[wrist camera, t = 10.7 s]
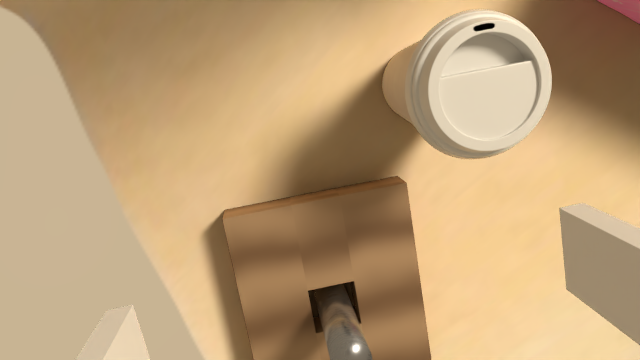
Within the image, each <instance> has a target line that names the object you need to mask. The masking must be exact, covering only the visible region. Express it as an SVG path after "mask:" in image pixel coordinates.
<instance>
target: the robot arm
mask: <svg viewBox="0 0 640 360" xmlns="http://www.w3.org/2000/svg"><path fill="white" fill-rule="evenodd" d="M559 210H560V221H561V233H562V244H563V256H564V267H565V279H566V289H567V290H568V291H570V292H571V293H572V294H573V295H575V296H576V297H577V298H579V299H580V300H581V301H583V302H584V303H585V304H587V305H588V306H589V307H590V308H592V309H593V310H594V311H596V312H597V313H598V314H600V315H601V316H602V317H604V318H605V319H606V320H607V321H609V322H610V323H611V324H613V325H614V326H615V327H617V328H618V329H619V330H621V331H622V332H623V333H624V334H626V335H627V336H628V337H630V338H631V339H632V340H634V341H635V342H636V343H638V344H639V345H640V228H638V227H636V226H633V225H631V224H629V223H627V222H625V221H622V220H620V219H618V218H616V217H614V216H611V215H609V214H607V213H605V212H602V211H600V210H598V209H596V208H594V207H591V206H589V205H587V204H585V203H580V204H575V205H571V206H566V207H562V208H559ZM76 360H150V357H149V354H148V351H147V348H146V345H145V342H144V338H143V335H142V332H141V329H140V326H139V322H138V319H137V316H136V313H135V310H134V306H133V304H132V305H128V306H123V307H119V308H115V309H110V310H107V311H106V312H105V314H104V316H103V317H102V319H101V320H100V322H99V323H98V325H97V326H96V328H95V330H94V331H93V333H92V334H91V336H90V337H89V339H88V341H87V342H86V344H85V345H84V347H83V349H82V350H81V352H80V353H79V355H78V356H77V358H76Z"/></svg>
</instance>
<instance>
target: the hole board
mask: <svg viewBox="0 0 640 360" xmlns="http://www.w3.org/2000/svg"><path fill="white" fill-rule="evenodd" d="M222 220H223V224H224V229H225V233H226V238H227V242H228V247H229V251H230V256H231V260H232V265H233V269H234V274H235V278H236V282H237V287H238V291H239V296H240V300H241V305H242V309H243V314H244V318H245V323H246V327H247V332H248V336H249V341H250V345H251V350H252V354H253V359H254V360H330V357H329V353H328V349H327V345H326V340H325V336H324V332H323V328H322V324H321V320H320V317H316V318H313V315H312V310H311V305H310V300H309V294H308V291H309V290H314V289H318V288H323V287H328V286H333V285H337V284H342V283H347V282H351V286H352V292H353V298H354V303H355V309H354V312H355V314H356V317H357V319H358V322H359V324H360V327H361V329H362V332H363V334H364V337H365V339H366V342H367V344H368V347H369V349H370V352H371V354H372V360H431V354H430V347H429V340H428V333H427V326H426V319H425V311H424V304H423V297H422V290H421V283H420V276H419V269H418V261H417V254H416V247H415V240H414V233H413V226H412V219H411V211H410V204H409V197H408V190H407V183H406V182H405V181H403V180H402V179H401V178H399V177H398V176H395V177H390V178H385V179H380V180H375V181H370V182H365V183H360V184H355V185H349V186H344V187H339V188H334V189H329V190H324V191H319V192H314V193H309V194H304V195H299V196H293V197H288V198H283V199H278V200H273V201H268V202H263V203H258V204H253V205H248V206H243V207H237V208H232V209H227V210H225V211H224V215H223V218H222Z"/></svg>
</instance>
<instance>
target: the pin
mask: <svg viewBox="0 0 640 360" xmlns="http://www.w3.org/2000/svg"><path fill="white" fill-rule="evenodd" d="M315 300H316V304H317V308H318V312H319V316H320V320H321V324H322V328H323V332H324V336H325V340H326V345H327V349H328V353H329V357H330V360H372V354H371V352H370V349H369V347H368V344H367V342H366V339H365V337H364V334H363V332H362V329H361V327H360V324H359V322H358V319H357V317H356V314H355V312H354V309H353V307H352V304H351V302H350V299H349V297H348V294H347V292H346V289H345V287H344V285H343V284H337V285H333V286H328V287H323V288H318V289H315Z"/></svg>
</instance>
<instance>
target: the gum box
mask: <svg viewBox="0 0 640 360" xmlns="http://www.w3.org/2000/svg"><path fill="white" fill-rule="evenodd" d="M597 1H599V2H601V3H603V4H604V5H606V6H608V7H610V8H612V9H615V10H616V11H618V12H620V13H622V14H623V15H625V16H627V17H629V18H630V19H632V20H633V21H635V22H637V23H639V24H640V0H597Z"/></svg>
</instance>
